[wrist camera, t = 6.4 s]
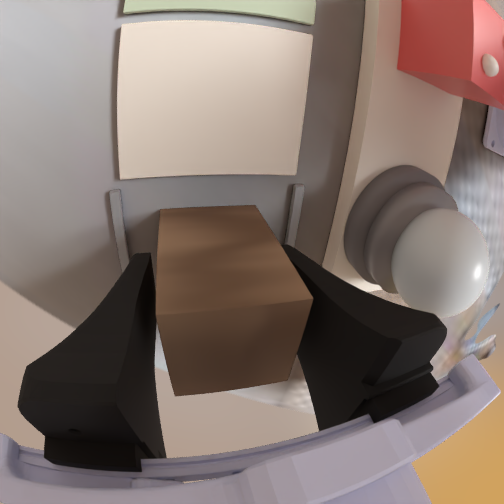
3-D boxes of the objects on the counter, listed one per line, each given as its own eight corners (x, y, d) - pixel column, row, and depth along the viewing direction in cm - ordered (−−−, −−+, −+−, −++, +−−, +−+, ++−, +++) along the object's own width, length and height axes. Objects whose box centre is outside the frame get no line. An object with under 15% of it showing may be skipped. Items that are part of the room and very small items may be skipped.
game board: (454, -3, 7) (480, -3, 6) (398, 275, 18) (416, 293, 16) (137, -91, 3) (134, -114, 2) (130, 304, 13) (128, 334, 12)
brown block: (255, 205, 12) (313, 298, 7) (248, 279, 14) (287, 380, 10) (160, 208, 11) (155, 314, 6) (167, 285, 13) (175, 396, 9)
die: (455, 28, 8) (525, 38, 4) (450, 94, 10) (521, 117, 6) (401, -6, 7) (481, -12, 3) (396, 69, 9) (481, 83, 5)
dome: (457, 187, 12) (525, 234, 8) (424, 275, 15) (474, 329, 11) (383, 176, 10) (473, 237, 6) (350, 287, 13) (404, 362, 9)
